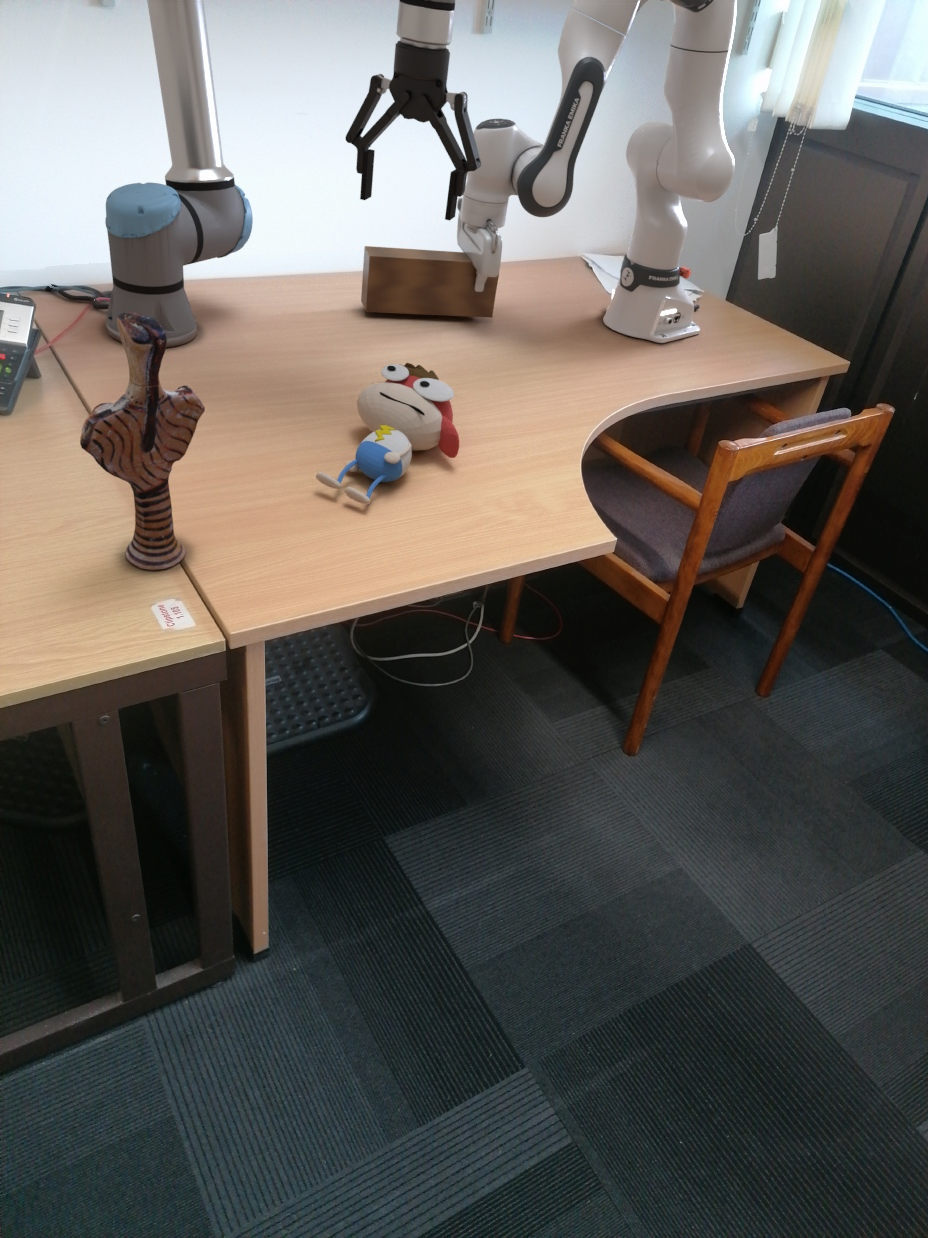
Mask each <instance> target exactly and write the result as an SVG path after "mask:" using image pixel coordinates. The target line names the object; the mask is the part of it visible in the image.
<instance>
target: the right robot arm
mask: <svg viewBox="0 0 928 1238" xmlns="http://www.w3.org/2000/svg"><path fill="white" fill-rule="evenodd" d="M648 1H649V0H572V3H571V5H570V8H569V10H568V12H567V15H566V18H565V20H564V24H563V27H562V30H561V34H560V38H559V43H558V47H557V56H558V62H559V68H560V73H561V92H560V98H559V102H558V105H557V108H556V111H555V114H554V116H553V119H552V121H551V124H550V128H549V130H548V132H547V135H546V137H545V140H544V143H543V144H542V143H540V142H539V141H536V140H535V139H534V138H532V137H531V136H529V135H527V134H526V133H525V132H524V131H523V130H522V129H521V128H520V127H519V126H518V125H517V123H516V122H515V121H513V120H511V119H508V118H491V119H485V120H483V121H481V122H480V123H478V124H477V125H476V127H475V129H474V130H473V134H474V138H475V142H476V145H477V149H478V153H479V157H480V160H481V166H480V168H478V169H477V170H475V171H469V172H468V173H467V178H466V186H465V192H464V194H463V195H462V196H461V197H458V198H457V205H456V210H457V211H458V214H457V215H458V216H457V225H456V226H457V227H456V229H457V230H456V243H457V246H458V248H460V249H461V252H465V253H466V254H467V256H468V257H469V258H470V260H471V261H472V264H473V266H474V267H475V268H476V270H477V271H476V274H477V276H476V280H474V286H473V288H474V290H475V291H476V292H482V291H483V290H484V284H485V282H486V280H487V278H488V277H497V276H498V274H499V275H500V271H501V270H500V269H501V263H502V253H503V238H502V235H501V234H500V233H499V232H498V231H499V229H501V228H503V227H504V226H505V224H506V219H507V212H508V205H509V199H510V197H511V196H517V198H518V200H519V203H520V205H521V207H522V208H523V209H524V211H525V212H527V213H528V214H529V215H530V216H533V217H535V218H536V217H537V218H548V217H552V216H554V215H557V214H558V213H560V212H561V211H562V210H564V208H565V207H566V206H567V204H569V201H570V199H571V197H572V194H573V190H574V189H573V188H574V177H575V175H574V174H575V167H576V162H577V159H578V155H579V153H580V150H581V148H582V145H583V143H584V140H585V138H586V135H587V133H588V130H589V126H590V124H591V122H592V119H593V117H594V115H595V112H596V109H597V106H598V104H599V100H600V98H601V95H602V92H603V90H604V88H605V86H606V83H607V82H608V79H609V76H610V74H611V72H612V70H613V68H614V66H615V63H616V62H617V59H618V57H619V55H620V53H621V51H622V49H623V46H624V44H625V42H626V39H627V36H628V35H629V32H630V30H631V28H632V25H633V23H634V20H635V18H636V16H637V15H638V13H639V11H640V10H641V9H642V7H643V6H644V5H645V4H646V3H647V2H648ZM660 2H670V3H671V5H672V9H673V28H672V32H671V37H670V43H669V48H668V54H667V59H666V65H665V66H666V67H665V71H664V78H663V83H662V95H663V98H664V100H665V103H666V104H667V106H668V108H669V111H670V115H671V121H672V123H671V122H667V121H646V122H643V123H641V124H640V125H639V126H638V127H636V129H634V130H633V133H631V135H630V137H629V140H628V142H627V145H626V150H625V156H626V157H625V158H626V162H627V165H628V167H629V169H630V173H631V175H632V179H633V184H634V197H635V199H634V200H635V209H634V211H635V212H634V221H633V226H632V230H631V235H630V239H629V244H628V248H627V251H626V254H625V255H624V256H623V260H622V261H621V266H620V271H619V272H620V274H619V276H620V277H619V278H618V281H617V284H616V287H615V289H614V288H612V293H611V301H610V303H609V306H607V307H606V310H605V313H604V316H603V317H602V321H603V323H604V325H605V326H607V327H608V328H610V329H611V330H613V331H615V332H617V333H620V334H621V335H622V334H623V335H625V336H629V337H632V338H638V339H641V340H647V341H651V342H654V343H657V344H665V343H669V342H674V341H677V340H680V339H685V338H688V337H692V336H696V335H699V334H700V332H701V328H700V326H699V325H697V323H695V322H694V321H693V317H694V313H695V311H696V310H698V309H700V304H695V305H694V301H693V300H692V298H691V297H690V296H689V294H688V293H687V292H686V290H684V288H683V287H682V285H681V284H680V282H681V277H682V278H683V279H685V280H687V279H689V278H690V277H691V275H692V270H691V269H690V268H687V267H686V266H682V267H681V266H680V260H681V257H682V253H683V250H684V247H685V243H686V239H687V236H688V233H689V231H688V229H689V226H688V221H687V219H686V217H685V215H684V213H683V208H682V201H681V200H682V199H681V198H683V199H686V200H687V201H692V202H693V201H694V202H700V203H713V202H715V201H717V200H718V199H720V198H721V197H722V196H723V195H724V194H725V193H726V192H727V191H728V189H729V188H730V187H731V184H732V182H733V180H734V176H735V172H736V171H735V170H736V161H735V157H734V155H733V152H731V150H730V147H729V145H728V142H727V139H726V134H725V129H724V127H725V126H724V119H723V96H724V95H723V94H724V88H725V81H726V77H727V71H728V66H729V60H730V55H731V50H732V46H733V40H734V35H735V28H736V19H737V10H738V9H737V7H738V6H737V5H738V0H660Z"/></svg>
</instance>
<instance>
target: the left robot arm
mask: <svg viewBox="0 0 928 1238" xmlns="http://www.w3.org/2000/svg"><path fill="white" fill-rule="evenodd" d="M204 2H205V1H204V0H146V3H147V9H148V15H149V22H150V28H151V35H152V41H153V48H154V54H155V60H156V61H155V62H156V67H157V74H158V80H159V87H160V94H161V101H162V106H163V107H162V108H163V112H164V113H163V114H164V120H165V126H166V133H167V140H168V147H169V153H170V158H171V167H170V168H169V169H168V171H167V172H166V174H164V180H165V184H162V183H160V182H159V183H158V182H146V183H141V182H133V183H129V184H124V185H122V186H118V187H117V188H114V190H112V191H111V192H110V193H109V194H108V196H107V197H106V201H105V218H104V219H105V222H104V224H105V228H106V233H107V240H108V249H109V257H110V258H109V259H110V268H111V277H112V291H111V295H110V300H109V303H107V304H106V303H98V301H97V299H96V298H95V297H93V296H90V295H74V294H70V293H68V292H66V291H64V290H63V289H62V290H59V291H58V292H57V291H56V290H54V289H53V288H50V287H49V286H48V285H47V286H46V287H45V288H44V291H46V292H50V291H52V290H54V291H56V292H57V293H58V294H59V295H60V296H62V297H63V298H65V299H67V300H69V301H70V300H71V301H74V302H75V301H77V302H90V303H92V307H93V308H94V309H97V310H107V311H106V315H105V326H106V328H105V329H106V332H107V334H108V335H109V336H110V337H111V338H112V339H114V340H116V341H117V342H120V343H122V341H121V338H120V334H119V330H118V326H117V321H116V320H117V317H118V316H119V315H120V314H122V313H125V312H134V313H139V314H142V315H144V316H150V317H152V318H154V319H156V320H157V321H158V322H160V324H161V326H162V327H163V328H164V330H165V333H166V337H167V343H166V348H171V347H177V346H182V345H184V344H187V343H189V342H191V341H193V340H194V339H195V338H196V337H197V335H198V324H197V320H196V317H195V315H194V311H193V309H192V306H191V304H190V300H189V298H188V296H187V293H186V290H185V278H184V276H185V275H184V267H185V266H187V265H191V264H197V263H200V262H205V261H208V260H212V259H216V258H217V259H220V258H224V257H227V256H229V255H230V254H232V253H237V252H238V251H240V250H242V249H243V247H244V246H245V245H246V243H248V241H249V239H250V237H251V234H252V230H253V223H254V220H253V210H252V206H251V203H250V200H249V199H248V198H247V197H246V193H245V192H244V190H243V189H242V188H241V187H240V186H238V185H237V184H236V182H235V174H234V173H233V172H232V171H230V169H229V168H227V166H226V165H225V164H224V157H223V149H222V141H221V133H220V124H219V117H218V108H217V99H216V92H215V84H214V75H213V69H212V68H213V66H212V59H211V58H212V57H211V51H210V43H209V35H208V26H207V19H206V17H207V16H206V10H205V3H204ZM455 9H456V0H398V11H397V24H396V32H395V34H396V36H397V37H398V38H399V40H398V41H397V42H396V43H395V45H394V46H395V48H394V58H393V75H392V78H391V79H389V78H387V77H385V76H384V75H383V74H382V73H378V74H374V75H372V76H371V77H370V81H369V86H368V92H367V94H366V96H365V98H364V100H363V102H362V103H361V106H360V107H359V110H358V112H357V114H356V115H355V117H354V119H353V121H352V123H351V125H350V127H349V129H348V131H347V133H346V135H345V141H346V143H347V144H350V145H353V146H354V147H355V148H356V168H355V169H356V173H357V174H360V175H361V181H360V195H359V200H361V201H367V200H368V199H370V198H372V194H373V179H374V165H375V153H376V151H375V149H371V147H372V145H373V144H374V143H375V142H376V140H377V139H379V137H380V136H381V135H382V134H383V133H384V132H385V131H386V130H387V129H388V128H389V127H390V125H392V123H394V121H395V120H396V119H397V118H398V117H400V116H401V117H403V119H406V120H415V121H417V122H419V123H423V124H424V123H427V122H429V123H430V126H431V127H432V129H434V131H435V132H436V134H437V136H438V138H439V140H440V141H441V144H442V146H443V148H444V149H445V151H446V154H447V155H448V157H449V159H450V161H451V163H452V165H453V166H454V170H452V171H450V175H449V183H448V190H447V191H448V192H447V201H446V206H445V207H446V208H445V216H444V220H445V221H449V222H451V220H452V219H454V218H456V213H457V212H456V211H457V202H458V198H461V197H463V194H464V192H465V186H466V183H467V173H468V172H469V171H475V170H477V169H478V168H480V166H481V160H480V157H479V153H478V149H477V145H476V142H475V138H474V134H473V133H474V130H473V127H472V122H471V120H470V116H469V111H468V101H469V100H468V97H469V95H468V94H467V92H465V91H461V92H449V91H448V87H447V85H448V84H447V83H448V77H449V76H448V74H449V68H450V67H449V66H450V57H451V52H450V50H449V48H447V46H449V45H451V44H452V37H453V30H454V21H455V12H456V10H455ZM388 90H389V93H390V95H391V97H392V99H393V101H394V102H392V104H390V106H389V107H388V108H387V109H386V110H385V112H384V113H383V114H382V115H381V116H380V117H379V119H378V120H376V122H375V123H374V124H373V125H372V127H370V128H369V129H368V131H367V132H366V133H365V134H364V135H363V136H362V133H363V132H364V130H365V129H366V126H367V125H368V123H369V121H370V119H371V117H372V115H373V113H374V111H375V110H376V107H377V106H378V104H379V102H380V100H381V98H382V95H385V94H386V93H387V91H388ZM447 103H448V104H449V107H450V109H451V110H452V111H453V114H454V118H455V123H456V127H457V130H458V134H459V137H460V141H461V144H462V148H463V150H462V148H461V147H460V145H459V143H458V141H457V139H456V137H455V136H454V135H455V134H454V133H453V131H452V129H451V127H450V125H449V123H448V121H447V120H448V119H447V117H446V115H445V113H444V111H443V110H442V109H443V108H444V107H445V105H446V104H447ZM369 148H370V149H369ZM463 151H464V153H463ZM50 284H51V285H52V286H54V287H59V286H58V285H57V284H55V283H50ZM94 299H95V301H94Z"/></svg>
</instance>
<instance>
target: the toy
mask: <svg viewBox="0 0 928 1238" xmlns="http://www.w3.org/2000/svg"><path fill="white" fill-rule="evenodd" d="M380 371H381V372H380V373H381V376H382V377H383V378H384V379H385V381H381V382H374V383H371V384H369V385H368V386H366V387H365V388H363V389H362V390H361V391H360V393H359V395H358V397H357V399H356V404H357V406H356V407H357V412H358V414H359V417H360V418H361V420H362V422H363V424H365V426H366V427H367V428H368V429H369V430H370V431H371V433H369V434H368V435H367V436H365V438H364V439H362V441H361V442H360V443H359V445H358V447H357V449H356V451H355V457H354V459H353V460H348V461H347V462H345V464H344V465H345V466H344V468H343V469H342V470H341V472H340V473H339V475H338V477H337V479H336V478H334V477H333V476H331V475H330V474H327V473H325V472H322V471H318V472H316V474H315V478H316V480H317V482H318V483H319V482H320V483H321V484H322V485H324V486H326V487H328V488H331V489H334V490H339V489H341V488H342V482H343V479H344V477H345V475H346V474H347V473H348V472H350V473H356V472H358V471H360V472H362V474H364V475H365V476H366V477H368V478H369V479H372V480H374V481H373V482H372V483H371V485H370V486H369V488H368V489H367V492H366V494H365V493H363V492H362V491H360V490H359V489H356V488H354V487H352V486H347V487H345V489H344V493H345V494H344V495H346V496H347V497H348V498H350V499H351V500H353V501H354V502H357V503H360V504H364V505H369V504H371V496H372V494H373V491H374V490H375V488H376V487H377V486H378V485H379V483H389V482H391V483H392V482H394V481H396V480H399V479H400V478H401V477H402V476H403V475H405V473H406V472H407V471H408V469H409V468H410V467H409V466H410V464H411V461H412V457H413V451H428V450H431V449H433V448H434V447H438V448H439V450H440V451H441V452H442V453H443V454H444V455H445V456H446V457H448V458H450V459H455V458H456V457H457V456H458V454H459V449H460V437H459V433H458V430H457V428H456V427H455V425H454V423H453V422H454V421H453V420H454V412H453V407H452V404H451V403H452V402H451V400H452V399H453V398H454V397H455V392H454V390H453V388H452V387H451V386H450V385H448V384H447V383H446V382H444V381H442V380H440V378H439V376H438V375H437V373H436V372H435V371H434V370H433V369H430V370H429V371H428V370H427V369H426V368H424V367H423V366H422V365H421V364H417V365H416V366H415V365H413V363H409V362H406V363H405V364H404V365H403V364H398V363H391V364H386V365H385V366H384V367H382V369H381V370H380Z"/></svg>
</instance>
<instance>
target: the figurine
mask: <svg viewBox="0 0 928 1238" xmlns="http://www.w3.org/2000/svg"><path fill="white" fill-rule="evenodd" d="M116 321H117V326H118V330H119V334H120V338H121V341H122V342H121V344H122V346H123V350H124V352H125V355H126V359H127V364H128V375H129V379H128V384H127V388H126V390H125V392H124V394H122V395H120V397H119V399H117V401H115V402H114V403H113V402H102V403H99V404H97V405H96V406H95V407H94V408H93V409H92V412H91V414H88V416H87V417H86V418H85V420H84V422H83V425H82V428H81V434H80V439H79V444H80V448H81V449H82V450H84V451H85V452H87V453H88V454H89V455H90V456H91V457H92V458H93V459H94V460H95V462H96V463H97V464H98V466H100V467H101V468H102V470H104V471H105V473H108V474H110V475H111V476H113V477H115V478H118V479H120V480H122V481H124V482H127V483H128V484H129V485H130V488H131V490H132V493H133V501H134V503H133V504H134V512H135V513H134V522H135V523H134V530H133V536H132V539H131V541H130V543H128V545H127V546H126V548H125V552H124V554H125V557H126V560H128V561H129V562H130V563H131V564H133V565H134V566H137V567H138V568H140V569H144V570H151V571H153V570H164V569H168V568H172V567H174V566H175V565H176V564H178V563H180V562H181V561H182V560H183V559H184V557H185V556H186V548H185V546H184V545H183V544H182V543H181V542H179V540H178V539H177V538H176V536H175V530H174V529H175V528H174V518H173V507H172V499H171V491H170V483H169V481H170V480H169V479H170V474H171V471H172V470H173V465H174V463H176V462H179V461H180V460H181V459H183V458H184V456H185V455H186V453H187V451H188V449H189V446H190V444H191V442H192V440H193V437H194V434H195V432H196V429H197V426H198V423H199V421H200V418H201V417H202V415H204V413H205V411H206V410H205V406H204V404H203V402H202V401H201V399H200V398H199V397H198V396H197V394H196V393H195V391H194V390H193V388H191V387H190V386H189V385H182V386H179V387H177V389H173V390H168V389H167V390H166V389H164V388H163V386H162V383H161V381H160V369H161V366H162V361H163V359H164V356H165V354H166V349H167V347H166V343H167V337H166V333H165V330H164V328H163V327H162V326H161V324H160V322H158V321H157V320H156V319H154V318H152V317H150V316H144V315H142V314H139V313H134V312H125V313H122V314H120V315H119V316H118V317H117V320H116Z"/></svg>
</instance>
